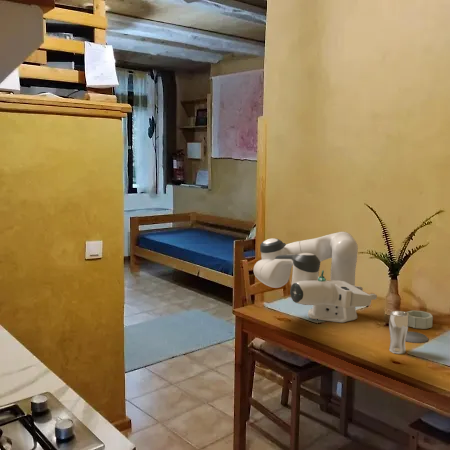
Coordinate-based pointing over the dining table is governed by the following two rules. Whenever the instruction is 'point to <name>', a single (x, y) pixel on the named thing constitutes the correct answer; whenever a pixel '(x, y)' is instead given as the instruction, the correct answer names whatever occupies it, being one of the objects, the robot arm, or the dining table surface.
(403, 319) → the beer glass
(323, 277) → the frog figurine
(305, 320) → the dining table surface
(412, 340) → the coaster
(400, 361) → the dining table surface
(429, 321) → the bowl
